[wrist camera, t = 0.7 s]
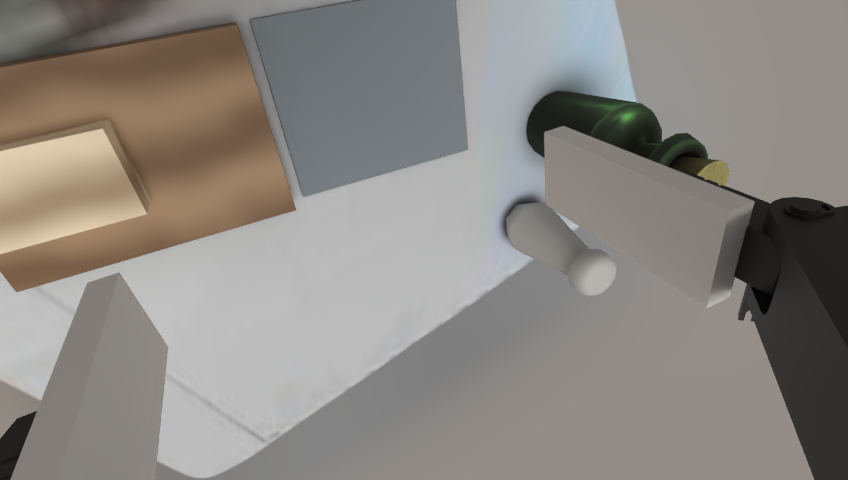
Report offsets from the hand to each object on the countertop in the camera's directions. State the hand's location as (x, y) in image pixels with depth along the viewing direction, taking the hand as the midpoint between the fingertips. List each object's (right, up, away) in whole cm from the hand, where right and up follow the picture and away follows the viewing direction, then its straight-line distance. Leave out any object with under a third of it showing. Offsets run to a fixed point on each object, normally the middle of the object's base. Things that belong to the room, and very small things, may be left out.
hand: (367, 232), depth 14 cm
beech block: (-22, +4, +16) cm, 28 cm away
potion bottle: (+15, +12, +33) cm, 38 cm away
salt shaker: (+12, +2, +37) cm, 39 cm away
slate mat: (-2, +12, +24) cm, 27 cm away
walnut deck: (-20, +6, +19) cm, 28 cm away
